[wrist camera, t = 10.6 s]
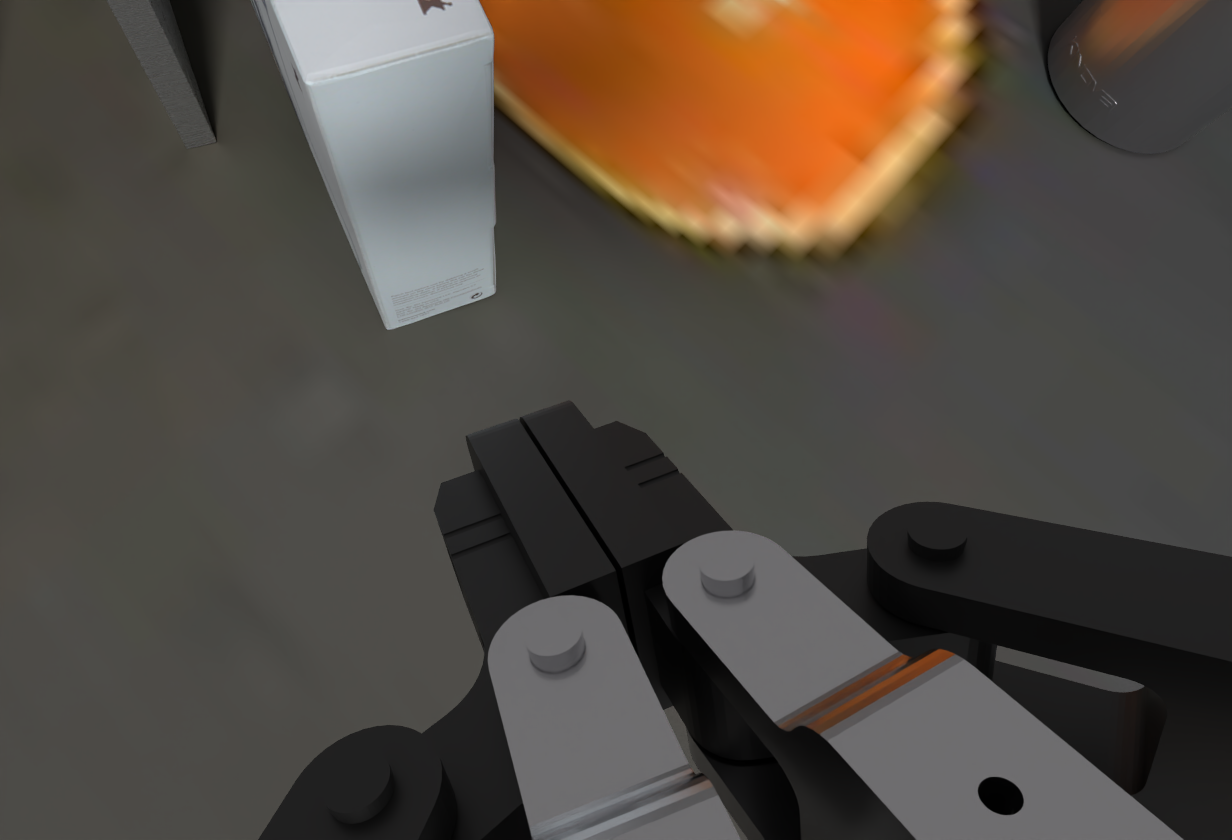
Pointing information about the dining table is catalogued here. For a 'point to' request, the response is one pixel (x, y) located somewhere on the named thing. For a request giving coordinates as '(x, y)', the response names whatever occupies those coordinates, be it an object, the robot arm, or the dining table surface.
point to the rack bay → (166, 65)
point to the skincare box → (399, 138)
